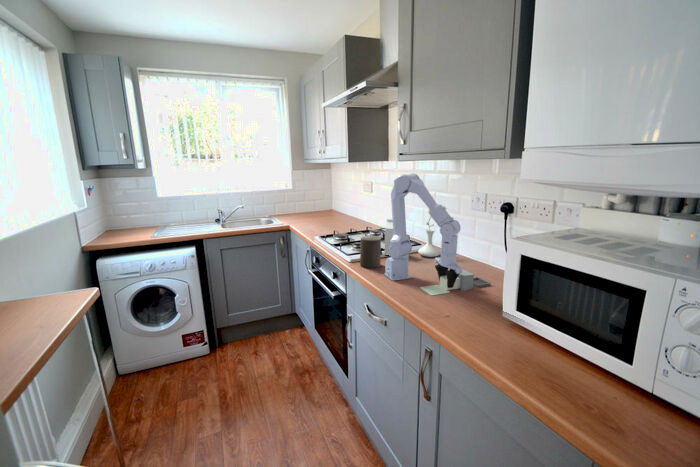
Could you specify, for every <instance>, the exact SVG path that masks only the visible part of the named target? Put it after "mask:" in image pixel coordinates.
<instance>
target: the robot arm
mask: <svg viewBox="0 0 700 467" xmlns="http://www.w3.org/2000/svg"><path fill="white" fill-rule="evenodd" d="M410 193H411V194H415V195H417V196H418V198H420V200H421V201H422V203H424V204H425V205H426V207H427V208H428V210H429V209H430V212H428V215H429V216H430V215H431V216H430V217H431V218H432V219H433V221H434V222H435V223H436V225H437V226H438V227H439V233H440V235H441V244H440V245H441V246H440V248H441V249H440V257H439V256H438V257H435V258H434V263H435V264H436V265H434V268H435V269H436V271H437V272H436V273H437V276H438V281H439V282H440V277H441V276H447V286H448V288H452V287H453V286H454V283H455V281H456V279H457V277H458V276H459V274H460V273H462V269H463V268H462V267H461V266H459V265H458V262H457V249H458V237H459V236H458V234H459V233H460V231H461V224H460V223H459V221H458V220H455V219H454V217H453V216H451V215H450V214H449V212H448V211H447V207H446V206H445V205H444V206H443V205H442V204H438V203H437V202H436V200H435V199H434V197H433V196H432V194H431V192H430V191H429V190H428V188H427V187H426V186H425V184H424V181H423V179H421V178H420V176H419V175H418V174H417V173H408V174H404V173H402V174H399V175H398V176H397V177H396V178H395V179H394V180H393V187H392V189H391V193H390V199H391V202H390V203H391V218H392V219H391V220H393V237H392V239H391V241H390V247H389V253H390V255H391V256H389V257H387V258H386V259H385V262H384V263H385V265H384V266H385V268H384V269H385V271H384V274H383V275H384V276H386V277H387V278H388V279H389V280H391V281H392V282H393V281H399V280H407V279H412V278H413V276H411V275H410V274H409V256H410V253H411V252H412V249H413V245H412V243H411V241H410V239H411V238H410V236H409V235H408V234H407V224H406V223H407V222H406V220H407V218H406V204H405V200H406V199H405V198H406V197H407V195H408V194H410Z"/></svg>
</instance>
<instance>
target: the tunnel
mask: <svg viewBox="0 0 700 467" xmlns="http://www.w3.org/2000/svg"><path fill="white" fill-rule="evenodd" d="M474 276H475V274H473V273H472V272H470V271H468V270H465V269H463V268H462V273H460V274H459V277H461V285H460V288H459V290H461V291H467V290H473V288H474V285H473V279H474V278H475V277H474Z"/></svg>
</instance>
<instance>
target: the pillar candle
mask: <svg viewBox="0 0 700 467" xmlns="http://www.w3.org/2000/svg"><path fill="white" fill-rule="evenodd" d="M381 247H382V238H381V237H380V236H378V235H377V236H376V235H364V236H361V237H360V251H359V252H360V253H359V254H360V256H359V259H360V260H359V263H360V264H359V265H360V267H361V268H364V269H370V270H372V269H378V268H380V267H381V254H382V252H381V250H382V248H381Z"/></svg>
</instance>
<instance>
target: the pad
mask: <svg viewBox="0 0 700 467" xmlns="http://www.w3.org/2000/svg"><path fill="white" fill-rule="evenodd" d="M419 289H421V290H422V291H424V292H425V293H426V294H428V295H429V296H431V297H432V296H438V295H444V294H449V293H451V291H450V290H445V289H444V288H442V287H440V284H434V285H433V284H432V285H426V286H420V287H419Z"/></svg>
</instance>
